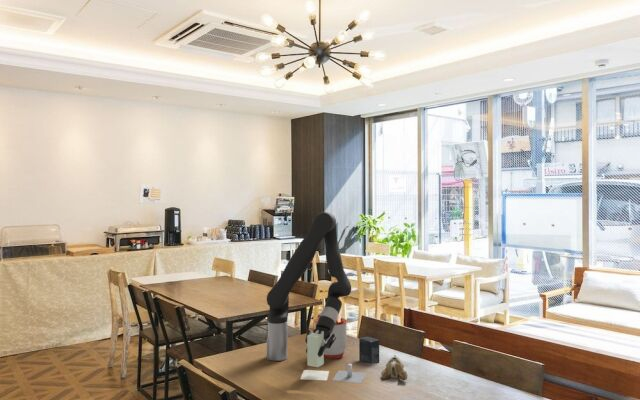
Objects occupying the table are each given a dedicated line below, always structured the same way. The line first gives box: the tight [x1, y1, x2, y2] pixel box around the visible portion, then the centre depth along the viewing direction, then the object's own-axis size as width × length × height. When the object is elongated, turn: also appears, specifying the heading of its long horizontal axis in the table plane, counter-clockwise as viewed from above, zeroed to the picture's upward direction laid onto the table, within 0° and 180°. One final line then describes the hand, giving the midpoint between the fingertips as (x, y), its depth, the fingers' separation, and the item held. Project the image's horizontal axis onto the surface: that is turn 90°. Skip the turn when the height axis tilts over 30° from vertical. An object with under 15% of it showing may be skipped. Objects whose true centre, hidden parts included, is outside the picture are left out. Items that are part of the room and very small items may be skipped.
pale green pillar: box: [306, 333, 325, 368], centre depth 205 cm, size 5×5×12 cm
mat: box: [300, 369, 330, 382], centre depth 205 cm, size 11×11×1 cm
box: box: [358, 336, 380, 364], centre depth 226 cm, size 8×6×11 cm
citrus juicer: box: [314, 317, 348, 360], centre depth 235 cm, size 16×17×20 cm
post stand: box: [332, 363, 367, 384], centre depth 204 cm, size 12×12×6 cm
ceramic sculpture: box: [381, 354, 408, 381], centre depth 206 cm, size 11×9×15 cm
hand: (313, 354), depth 204 cm, fingers closed on pale green pillar, 5 cm apart
